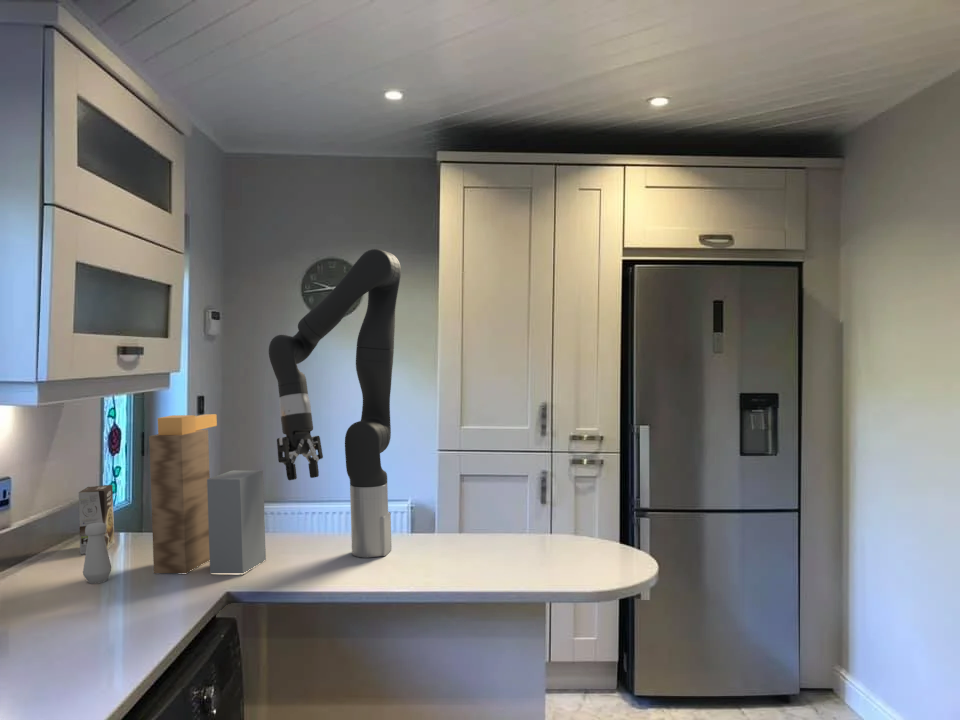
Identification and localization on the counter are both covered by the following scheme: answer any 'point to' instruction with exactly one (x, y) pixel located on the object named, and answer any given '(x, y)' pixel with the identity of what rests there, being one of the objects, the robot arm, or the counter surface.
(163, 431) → the orange block
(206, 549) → the tall wooden block
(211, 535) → the block
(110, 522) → the coffee box
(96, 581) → the salt shaker
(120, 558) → the counter surface
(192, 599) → the counter surface
